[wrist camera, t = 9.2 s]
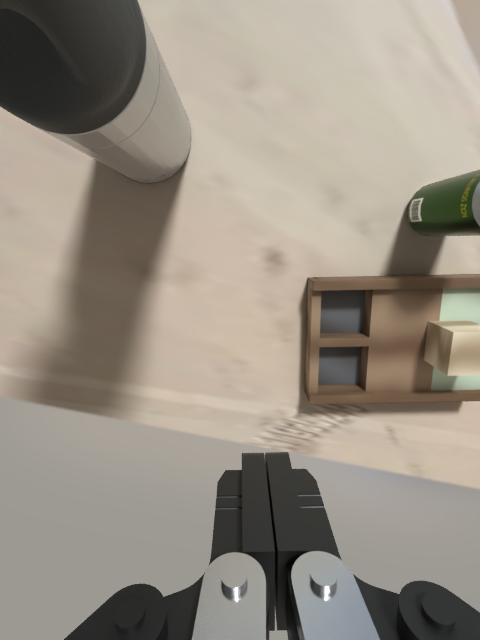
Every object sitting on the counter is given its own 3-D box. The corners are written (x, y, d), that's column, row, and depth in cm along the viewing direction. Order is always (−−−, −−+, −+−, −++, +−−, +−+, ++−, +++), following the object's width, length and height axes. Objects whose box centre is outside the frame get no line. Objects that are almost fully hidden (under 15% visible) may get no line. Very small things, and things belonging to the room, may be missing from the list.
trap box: (307, 277, 38) (313, 281, 35) (484, 273, 38) (507, 277, 35) (304, 391, 42) (310, 404, 38) (467, 388, 42) (486, 400, 38)
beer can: (407, 241, 37) (483, 242, 26) (401, 191, 36) (478, 168, 25) (456, 229, 37) (555, 225, 25) (452, 178, 36) (554, 150, 24)
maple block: (428, 321, 37) (453, 332, 33) (469, 320, 37) (500, 331, 33) (423, 359, 38) (447, 375, 34) (463, 359, 38) (492, 375, 34)
